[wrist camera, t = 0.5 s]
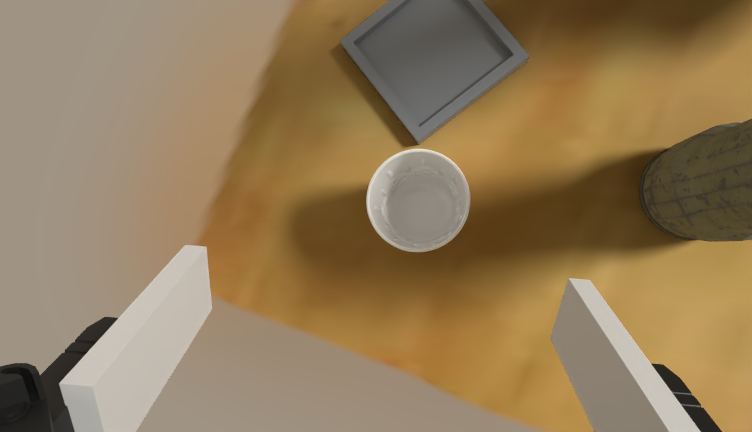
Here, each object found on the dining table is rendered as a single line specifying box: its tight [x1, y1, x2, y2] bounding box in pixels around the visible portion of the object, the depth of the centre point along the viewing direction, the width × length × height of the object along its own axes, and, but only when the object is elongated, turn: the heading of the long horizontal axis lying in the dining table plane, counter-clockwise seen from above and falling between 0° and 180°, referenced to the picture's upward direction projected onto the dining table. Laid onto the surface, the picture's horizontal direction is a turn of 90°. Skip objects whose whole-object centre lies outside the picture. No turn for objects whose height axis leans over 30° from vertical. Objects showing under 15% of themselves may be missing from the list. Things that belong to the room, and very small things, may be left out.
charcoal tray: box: [340, 0, 530, 145], centre depth 44 cm, size 13×13×2 cm
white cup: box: [366, 149, 470, 252], centre depth 39 cm, size 8×8×10 cm
